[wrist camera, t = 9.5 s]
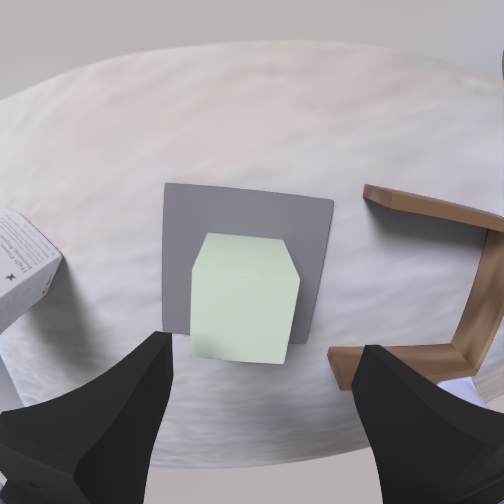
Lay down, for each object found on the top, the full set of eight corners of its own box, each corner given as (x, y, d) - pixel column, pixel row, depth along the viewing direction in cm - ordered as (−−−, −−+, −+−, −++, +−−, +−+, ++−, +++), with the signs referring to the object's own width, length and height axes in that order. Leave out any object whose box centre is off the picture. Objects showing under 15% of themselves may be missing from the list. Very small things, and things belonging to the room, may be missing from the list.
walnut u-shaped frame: (453, 350, 23) (475, 375, 19) (327, 355, 22) (340, 390, 18) (497, 214, 19) (530, 227, 15) (364, 184, 18) (393, 193, 14)
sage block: (273, 306, 20) (283, 363, 14) (203, 300, 20) (190, 356, 14) (283, 239, 19) (300, 279, 13) (207, 232, 18) (192, 269, 13)
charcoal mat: (304, 340, 21) (305, 343, 21) (164, 328, 21) (162, 331, 20) (331, 199, 18) (333, 200, 18) (166, 182, 18) (164, 183, 17)
